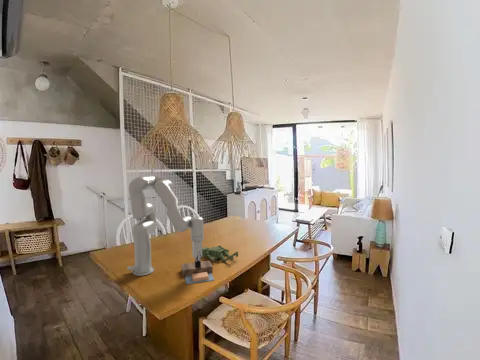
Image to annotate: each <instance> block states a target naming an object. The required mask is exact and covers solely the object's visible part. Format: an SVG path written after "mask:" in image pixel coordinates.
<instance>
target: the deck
mask: <svg viewBox="0 0 480 360" xmlns="http://www.w3.org/2000/svg"><path fill="white" fill-rule="evenodd" d="M211 262H212V261H211V260H205V261H201V268H195V261H194V262H185V263H181V272H182V278H185V276H190V275H192V274H196V273H203V272H207V273H212V274H213V272H214V269H213V265H212V263H211Z"/></svg>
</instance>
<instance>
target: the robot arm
mask: <svg viewBox="0 0 480 360" xmlns="http://www.w3.org/2000/svg"><path fill="white" fill-rule="evenodd" d="M150 189H151V190H154V191H155V193H156V195H157V196H158V198H159V199H160V201H161V202H162V204H163V206H164V207H165V209H166V211H165V212H166V214H167V215H166V216H167V217H168V218H167V219H168V220H169V222H170V223H171V225H172V226H173V228H174V229H175V230H176V231H178V232H181V233H182V232H184V231H186V230H188V229H190V241H191V242H192V247H191V248H192V249H191V251H192V257H193V259H194V262H195V268H201V262H202V261H201V258H203V257H202V248H203V241H204V239H205V237H204V234H205V233H204V231H205V229H204V227H205V226H204V218H203V217H202V216H192V215H191V216H190V215H184V216H182V215H181V213H180V211H179V207H178V206H179V199H178V197H177V196H176V194H175V193H174V191H173V189H174V184H173V182H172V181H171V180H169V179H166V178H162V177H159V176H154V175H140V176H137V177H135V178H133V179H132V180H131V181H130V182H129V185H128V194H129V198H130V199H129V200H130V207H131V208H130V209H131V213H132V218H133V219H134V220H136V221H138V222H137V223H136V224H135V225H133V227H132V229H131V231H132V237H133V245H134V247H133V248H134V265H133V266H129V265H128V266H127V270H128V271H129V272H131V271H132V275H134V276H138V277H139V276H141V277H144V276H146V275H150V274H152V273H153V272H154V271H155V267H154V266H152V244H151V238H150V236H149V235H150V234H152V233H153V232H155V231H156V229H157V217H156V212H155V211H156V210H155V206H154V205H153V204H152V203H150V202H147V201H146V196H145V193H144V191H145V190H150Z"/></svg>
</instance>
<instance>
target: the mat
mask: <svg viewBox="0 0 480 360" xmlns="http://www.w3.org/2000/svg"><path fill="white" fill-rule="evenodd" d="M208 276H209V280H202V281H195V282H193V280H192V275H190V276H185V277H184V279H185V284H186V285H190V284H197V283H198V284H199V283H206V282H211V281H213V282H214V281H215V278H214V276H213V273H208Z"/></svg>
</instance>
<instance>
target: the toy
mask: <svg viewBox="0 0 480 360" xmlns="http://www.w3.org/2000/svg"><path fill="white" fill-rule="evenodd" d="M229 251H230V249H226V248H224V247H223V246H222V245H218V246H212V247H207V246H205V247H202V258H207V259H210V260H209V261H210V262H212V263H213V262H215V261H216V260H218V259H221V261H222V262H224V263H226V262H227V261H228V260H231V261H234V260H235V258H237V257H239V251H235V252H234V253H232V254H231V255H230V254H229V253H230V252H229ZM225 257H226V258H225ZM234 257H235V258H234Z"/></svg>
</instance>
